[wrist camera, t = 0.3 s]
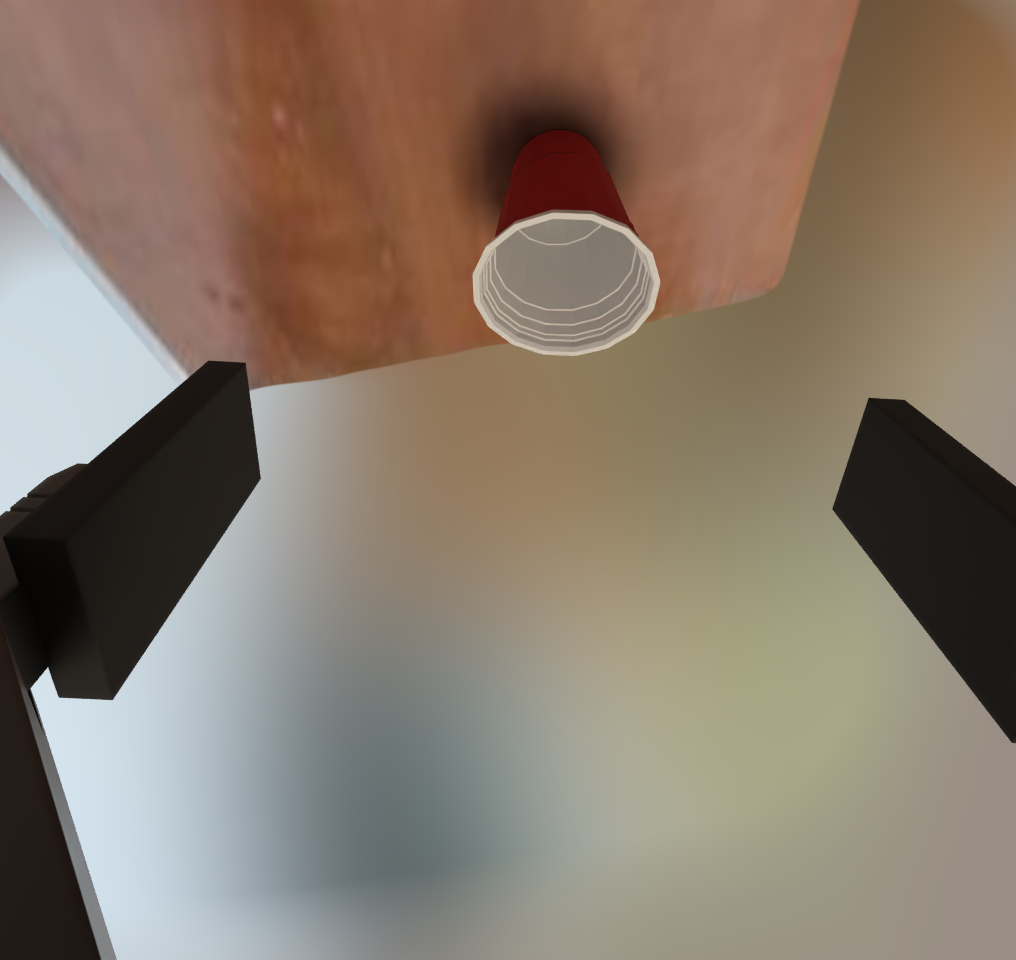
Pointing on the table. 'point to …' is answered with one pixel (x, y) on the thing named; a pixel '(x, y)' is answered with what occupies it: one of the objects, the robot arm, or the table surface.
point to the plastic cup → (564, 254)
